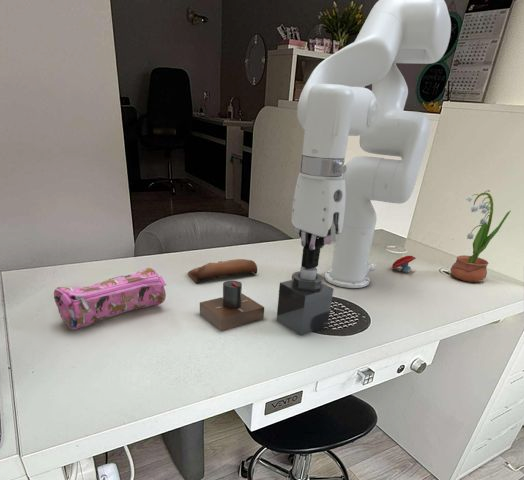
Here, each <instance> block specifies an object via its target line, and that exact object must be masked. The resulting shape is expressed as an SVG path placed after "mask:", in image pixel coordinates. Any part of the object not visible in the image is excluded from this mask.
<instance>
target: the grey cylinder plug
mask: <svg viewBox="0 0 524 480" xmlns="http://www.w3.org/2000/svg"><path fill="white" fill-rule="evenodd" d="M299 271H300V277H299V278H301V279H305V280H315V279H316V275H317V273H318V267H314V268H310V269H306V268H305V267H302V266H301V265H300V269H299Z"/></svg>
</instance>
